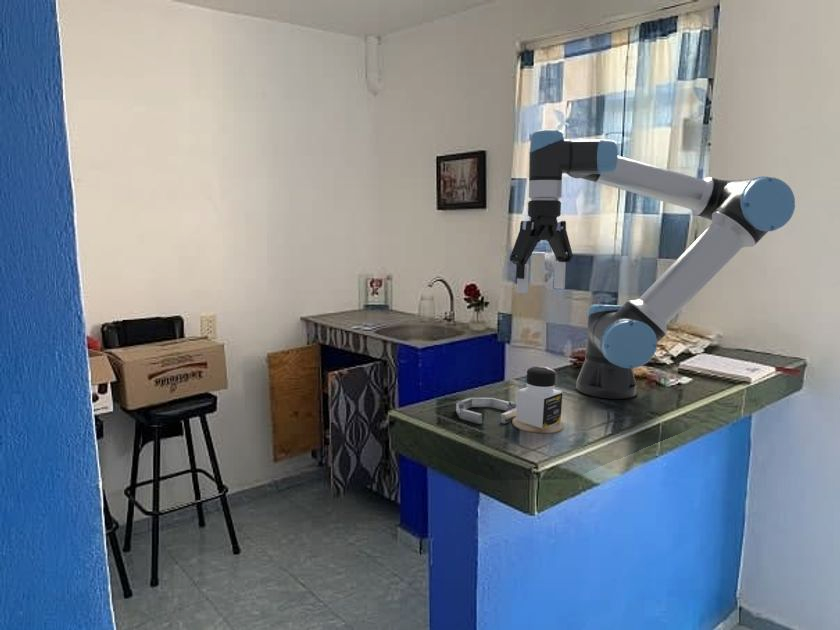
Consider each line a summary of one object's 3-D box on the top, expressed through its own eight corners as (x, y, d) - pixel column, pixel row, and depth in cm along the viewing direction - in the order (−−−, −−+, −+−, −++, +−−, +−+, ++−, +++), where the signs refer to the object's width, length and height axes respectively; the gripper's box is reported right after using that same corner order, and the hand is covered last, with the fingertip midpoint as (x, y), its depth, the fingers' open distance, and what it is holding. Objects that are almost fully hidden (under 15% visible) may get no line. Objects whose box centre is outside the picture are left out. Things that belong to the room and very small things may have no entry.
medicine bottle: (542, 429, 131) (546, 374, 129) (515, 421, 136) (518, 367, 134) (561, 422, 136) (564, 369, 134) (533, 414, 141) (536, 362, 139)
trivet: (554, 416, 142) (554, 413, 142) (570, 433, 131) (570, 430, 131) (507, 416, 141) (507, 414, 140) (519, 433, 130) (519, 430, 130)
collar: (507, 405, 149) (507, 394, 148) (521, 423, 136) (521, 411, 136) (453, 405, 147) (453, 394, 147) (462, 423, 135) (463, 411, 134)
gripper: (564, 200, 155) (561, 285, 158) (495, 198, 139) (493, 292, 143) (590, 200, 149) (585, 288, 153) (521, 198, 133) (518, 296, 137)
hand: (541, 290), depth 148 cm, fingers open, 13 cm apart
